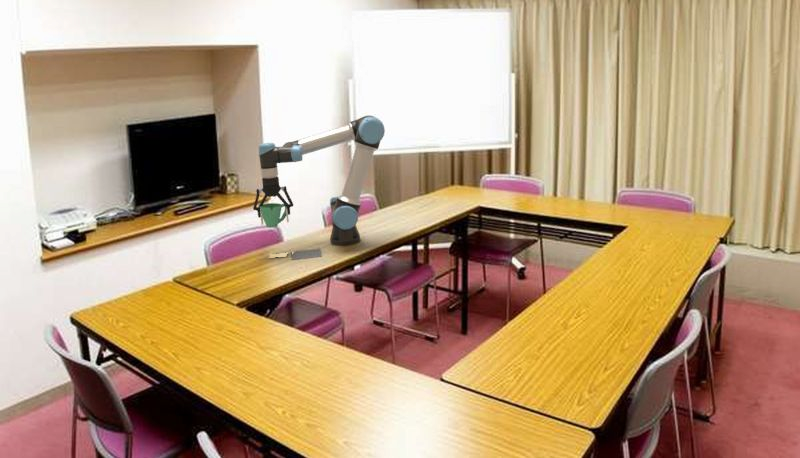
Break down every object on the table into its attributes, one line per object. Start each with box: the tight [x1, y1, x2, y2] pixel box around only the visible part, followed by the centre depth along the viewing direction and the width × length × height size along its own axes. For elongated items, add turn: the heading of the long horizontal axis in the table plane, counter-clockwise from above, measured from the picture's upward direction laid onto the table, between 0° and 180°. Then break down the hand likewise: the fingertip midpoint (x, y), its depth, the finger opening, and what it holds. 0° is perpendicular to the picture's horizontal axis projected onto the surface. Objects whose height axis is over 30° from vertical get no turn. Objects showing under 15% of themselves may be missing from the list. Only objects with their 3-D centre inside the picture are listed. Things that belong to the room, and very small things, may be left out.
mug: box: [260, 202, 287, 228], centre depth 320 cm, size 15×10×10 cm
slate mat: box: [290, 248, 323, 261], centre depth 324 cm, size 14×14×1 cm
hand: (275, 222), depth 321 cm, fingers closed on mug, 11 cm apart
